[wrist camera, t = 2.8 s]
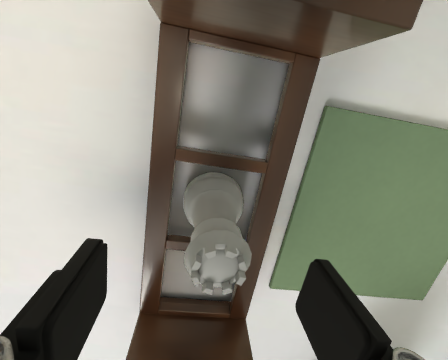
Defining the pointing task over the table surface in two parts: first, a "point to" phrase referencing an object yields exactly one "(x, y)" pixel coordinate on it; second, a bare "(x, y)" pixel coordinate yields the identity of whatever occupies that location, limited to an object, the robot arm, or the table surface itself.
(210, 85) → the table surface
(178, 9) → the rack
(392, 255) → the mat
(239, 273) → the rook chess piece
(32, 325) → the robot arm
